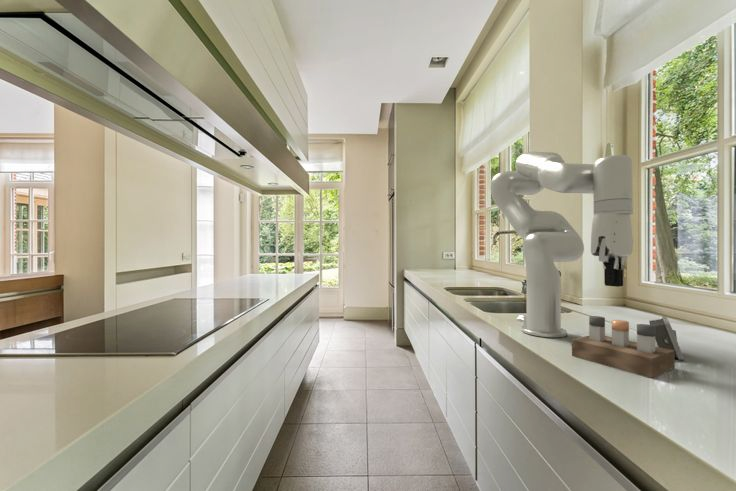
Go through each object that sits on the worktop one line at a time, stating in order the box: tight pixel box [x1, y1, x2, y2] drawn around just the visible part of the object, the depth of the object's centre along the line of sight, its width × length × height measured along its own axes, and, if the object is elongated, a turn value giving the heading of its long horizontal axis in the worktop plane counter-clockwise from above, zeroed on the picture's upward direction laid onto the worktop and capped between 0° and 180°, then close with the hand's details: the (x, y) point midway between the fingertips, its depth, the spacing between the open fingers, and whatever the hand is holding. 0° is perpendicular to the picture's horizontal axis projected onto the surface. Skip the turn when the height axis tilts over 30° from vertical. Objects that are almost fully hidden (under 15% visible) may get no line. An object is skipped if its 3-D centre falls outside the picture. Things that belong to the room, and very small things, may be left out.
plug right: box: [636, 323, 656, 354], centre depth 73 cm, size 3×3×6 cm
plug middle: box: [611, 319, 630, 347], centre depth 78 cm, size 3×3×6 cm
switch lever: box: [588, 315, 606, 342], centre depth 82 cm, size 3×3×6 cm
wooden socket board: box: [571, 335, 676, 379], centre depth 78 cm, size 16×11×4 cm
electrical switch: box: [648, 315, 684, 361], centre depth 83 cm, size 9×5×9 cm, turn 141°
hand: (613, 285), depth 79 cm, fingers closed
